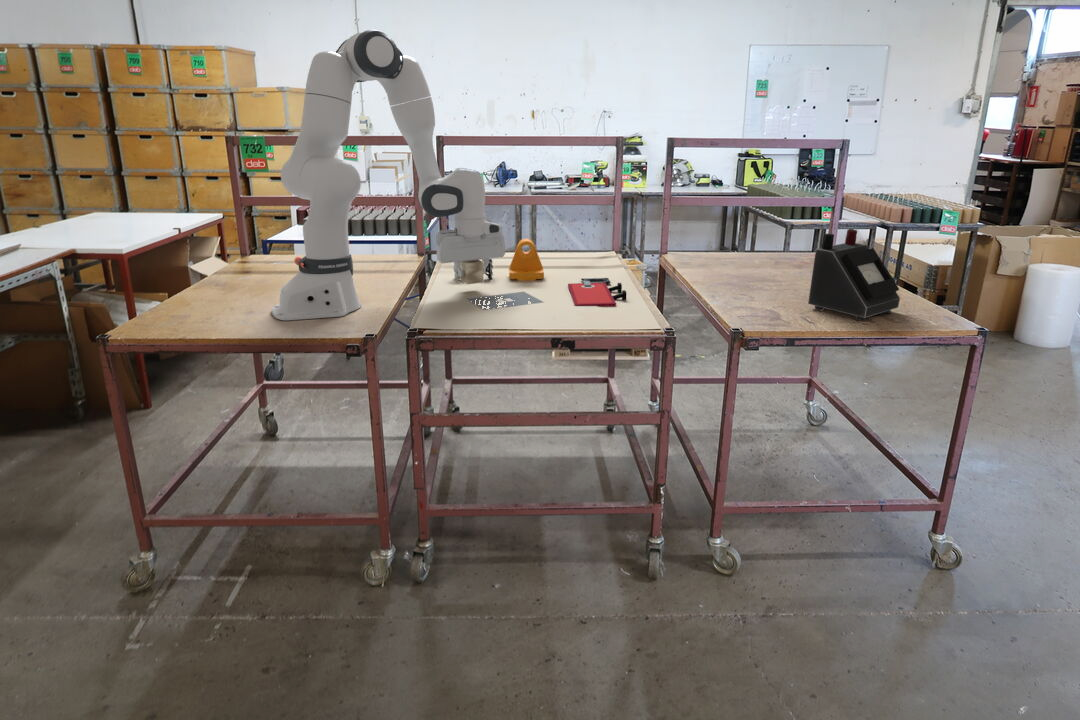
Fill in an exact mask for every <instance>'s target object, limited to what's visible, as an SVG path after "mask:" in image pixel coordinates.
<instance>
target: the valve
mask: <svg viewBox="0 0 1080 720" xmlns="http://www.w3.org/2000/svg"><path fill="white" fill-rule="evenodd" d="M459 266H460V267H461V265H459ZM493 269H494V265H493V258H489V264H488V266H487V267H486V274H484V275H485V276H486V277H487V279H488V280H493V275H494V273H493ZM453 272H454V279H455V278H456V279H455V280H457V279H461V277H460V276H459V275H458V269H457V268H456V266H455V265H454V264H453Z"/></svg>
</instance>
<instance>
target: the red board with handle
mask: <svg viewBox="0 0 1080 720" xmlns="http://www.w3.org/2000/svg"><path fill="white" fill-rule="evenodd" d="M580 280H581V282H579V283H575V282H574V283H567V288H568V290H569V293H570V295H571V298H572V301H573V305H574V306H575V307H583V306H584V307H590V306H591V307H593V306H594V307H595V306H596V307H617V302H616V300H618V299H621V300H622V301H627V290H625V289H624V290H622V289H623V288H622V287H623V285H622V282H617V285H615V286H611V287H608V285H607V284H611V281H610V279H609V277H598V278H597V277H596V278H591V277H589V278H580ZM614 291H616V292H617V293H618V294H614V295H613V294H612V293H611V292H614Z"/></svg>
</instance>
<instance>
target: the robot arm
mask: <svg viewBox="0 0 1080 720" xmlns="http://www.w3.org/2000/svg"><path fill="white" fill-rule="evenodd" d="M370 81H377V82H378V83H379V84H380V85H381V86H382V87H383V89H384V91H385V93H386V96H387V101H388V103H389V106H390V110H391V115H392V116H393V120H394V122H395V123H396V126H397V128H398V130H399V132H400V133H401V135H402V138H404V140H405V142H406V143H407V145H408V147H409V150H410V152H411V155H412V159H413V164H414V167H415V171H416V175H417V180H418V184H417V190H416V197H417V202H418V204H419V206H421V208H422V209H423V210H424V211H425V213H427V215H429V216H431V217H434V218H444V217H448V216H453V215H454V228H449V229H448V228H447V229H441V230H440V231H438V232H437V233H436V235H435V243H436V259H437V261H438V262H440V263H441V264H450V263H453V266H454V265H455V266H456V268H457V269H458V275H459V276H460V277H463V276H465V270H463V269H461V267H460V266H459V265H461V261H470V260H480V261H482V262H483V275H485V274H486V267H487V266H488V264H489V258H491V259H495V258H496V259H497V258H503V257H504V256H505V255H506V253H507V252H506V241H505V236H504V235H503V234H502V232H503V226H502V225H500V224H499V223H496V222H492V221H491V220H487V218H486V217H487V215H486V212H485V205H486V189H485V182H484V176H483V175H482V174H481V172H479V171H477V170H475V169H470V168H466V167H457V168H455V169H454V170H453V171H452V172H450V173H449V174H447V175H446V176H444V177H443V176H442V174H441V171H440V168H439V165H438V161H437V157H436V153H435V149H434V142H433V138H434V137H433V135H434V129H435V126H436V119H435V118H436V116H435V109H434V108H435V107H434V104H433V103H434V102H433V100H432V96H431V91H430V88H429V85H428V82H427V80H426V77H425V74H424V72H423V70H422V68H421V65H420V63H419V62H418V61H417V60H416V58H415V57H414V58H413V57H411V56H409V55H404V54H403V52H402V51H401V50H400V49H399V48H398V46H397V44H396V43H395V42H394V40H393V39H392V38H391V36H390V35H388V33H385V32H384V31H383V30H382V31H381V30H378V29H368V30H364V31H362V32H358V33H355V34H353V35H351V36H350V37H348V39H346V40H344V41H343V42H342V43H341V44H340V45H339V47H338V48H337V49H336V51H330V50H325V51H320V52H318V53H316V54H315V55H314V56H313V57H312V60H311V63H310V67H309V69H308V74H307V78H306V82H305V83H306V84H305V90H304V98H303V99H304V101H303V109H302V117H301V125H300V129H299V134H298V137H297V139H296V143H295V144H294V148H293V150H292V152H291V155H290V156H289V158H288V159H287V160H286V161H285V163H284V164H283V165H282V168H281V170H280V180H281V183H282V186H283V187H284V188H285V190H286V191H287V192H289V193H291V194H292V195H293V196H295V197H297V198H298V199H299V198H300V199H302V200H307V201H309V211H308V212H309V213H308V216H307V219H306V221H305V222H304V223H303V225H302V237H303V244H304V245H303V247H304V253H305V256H304V257H302V258H301V257H300V256H296V257H295V258H294V260H293V261H294V263H295V265H296V266H298V271H299V272H297V273H296V275H294V276H293V277H292V278H291V279H290V280H288V282H287V283H285V284H284V285H283V286H282V287H281V289H280V294H279V303H277V304H275V305H274V306H272V307H271V314H272V316H273V317H274V318H275V319H278V320H281V321H296V320H297V321H298V320H309V319H320V318H321V319H323V318H325V319H326V318H335V317H336V318H337V317H338V318H339V317H344V316H346V315H347V314H348V313H352V312H354V311H356V310H358V309H359V308H361V306H362V305H361V302H360V300H359V297H358V294H357V291H356V287H355V282H354V277H353V275H354V262H353V257H352V254H351V253H350V241H349V231H348V230H349V229H348V228H349V227H348V225H349V217H350V211H351V207H352V203H353V201H354V200H355V198H356V197H357V196H358V195H359V193H360V191H361V187H362V185H361V184H362V180H361V176H360V173H359V171H358V170H357V168H356V167H355V166H354V165H352V164H351V163H349V162H346V161H344V160H342V159H339V158H336V155H337V153H338V150H339V148H340V147H341V145H342V143H343V142H344V141H346V139H347V137H348V136H349V135H348V134H349V128H350V120H351V119H350V118H351V109H352V101H353V91H354V88H355V87H354V86H355V85H356V83H366V82H370Z"/></svg>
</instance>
